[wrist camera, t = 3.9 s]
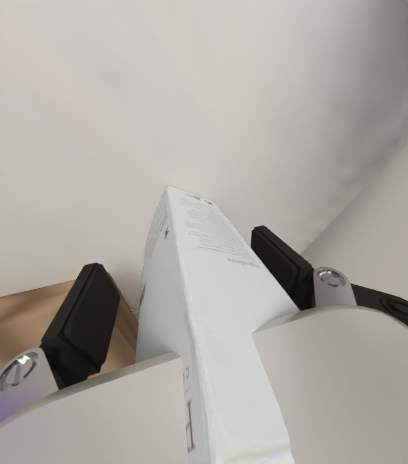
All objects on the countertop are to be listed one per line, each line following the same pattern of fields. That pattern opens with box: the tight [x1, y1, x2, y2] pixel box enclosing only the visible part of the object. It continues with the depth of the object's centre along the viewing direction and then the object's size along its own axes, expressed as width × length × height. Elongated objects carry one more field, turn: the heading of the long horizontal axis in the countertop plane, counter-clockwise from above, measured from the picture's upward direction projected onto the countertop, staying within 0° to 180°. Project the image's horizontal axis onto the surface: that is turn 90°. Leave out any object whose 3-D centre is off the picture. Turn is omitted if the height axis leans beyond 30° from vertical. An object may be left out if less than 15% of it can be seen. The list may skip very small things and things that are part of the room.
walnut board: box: [0, 273, 138, 380], centre depth 16 cm, size 14×14×3 cm
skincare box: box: [135, 186, 300, 464], centre depth 9 cm, size 6×4×12 cm
